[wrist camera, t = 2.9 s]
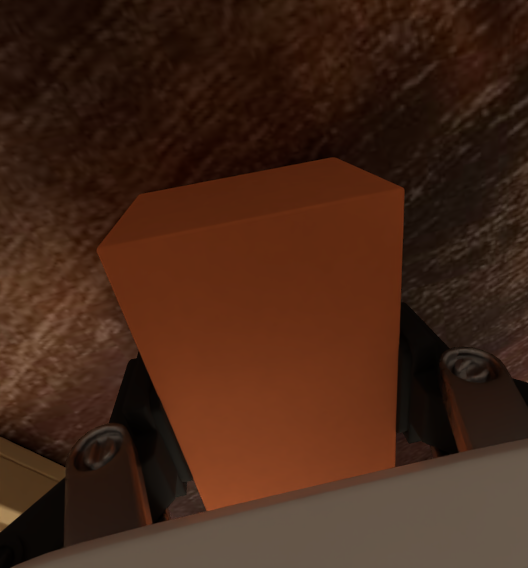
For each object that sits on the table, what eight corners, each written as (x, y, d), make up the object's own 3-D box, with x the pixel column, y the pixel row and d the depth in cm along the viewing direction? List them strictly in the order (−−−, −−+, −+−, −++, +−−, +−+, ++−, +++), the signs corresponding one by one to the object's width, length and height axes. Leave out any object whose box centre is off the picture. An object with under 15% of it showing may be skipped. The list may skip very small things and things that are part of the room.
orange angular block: (137, 193, 9) (93, 249, 6) (335, 156, 10) (406, 187, 6) (219, 437, 14) (221, 547, 11) (349, 407, 14) (394, 506, 11)
